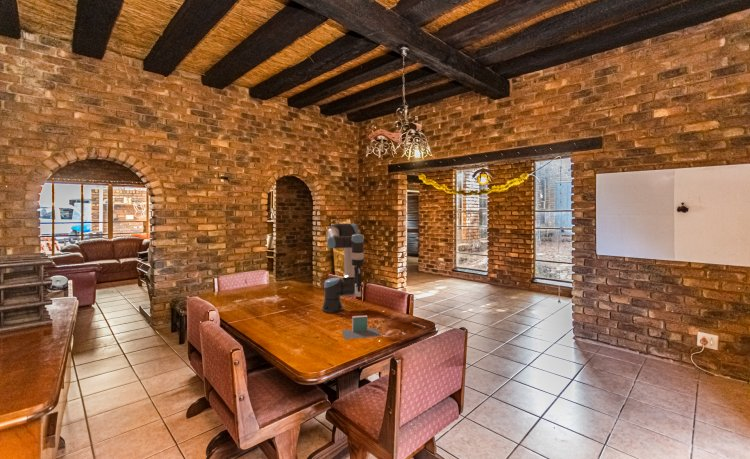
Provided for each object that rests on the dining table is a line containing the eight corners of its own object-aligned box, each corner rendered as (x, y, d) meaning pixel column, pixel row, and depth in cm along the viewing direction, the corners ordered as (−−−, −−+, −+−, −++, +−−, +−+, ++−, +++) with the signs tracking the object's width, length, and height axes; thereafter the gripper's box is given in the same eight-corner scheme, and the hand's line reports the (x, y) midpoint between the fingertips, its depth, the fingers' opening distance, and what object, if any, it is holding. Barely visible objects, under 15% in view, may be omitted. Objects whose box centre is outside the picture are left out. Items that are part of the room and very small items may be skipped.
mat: (341, 331, 207) (341, 330, 207) (376, 328, 212) (376, 327, 211) (344, 340, 193) (344, 339, 193) (381, 337, 198) (381, 336, 198)
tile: (352, 330, 206) (352, 316, 206) (366, 329, 208) (366, 315, 208) (352, 332, 204) (352, 317, 204) (367, 330, 206) (367, 316, 205)
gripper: (349, 256, 219) (349, 291, 221) (354, 261, 201) (354, 299, 202) (361, 256, 221) (361, 290, 223) (366, 261, 202) (366, 298, 204)
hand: (357, 294), depth 213 cm, fingers open, 6 cm apart
